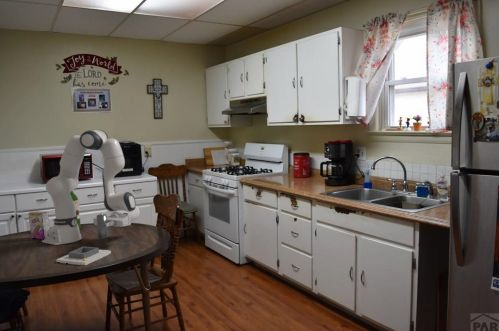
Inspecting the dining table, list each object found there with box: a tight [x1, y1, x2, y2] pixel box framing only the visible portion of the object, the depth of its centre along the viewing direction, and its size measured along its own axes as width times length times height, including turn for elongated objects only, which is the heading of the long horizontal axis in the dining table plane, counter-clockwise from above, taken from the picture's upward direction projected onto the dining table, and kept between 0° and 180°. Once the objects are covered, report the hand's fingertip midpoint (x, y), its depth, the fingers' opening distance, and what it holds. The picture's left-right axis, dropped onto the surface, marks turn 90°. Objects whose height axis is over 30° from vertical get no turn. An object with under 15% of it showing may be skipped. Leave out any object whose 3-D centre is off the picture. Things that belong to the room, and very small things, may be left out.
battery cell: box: [96, 212, 109, 239], centre depth 214 cm, size 5×5×13 cm
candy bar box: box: [27, 210, 51, 240], centre depth 242 cm, size 11×5×16 cm, turn 71°
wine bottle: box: [70, 190, 82, 230], centre depth 260 cm, size 9×9×32 cm
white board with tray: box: [55, 246, 112, 266], centre depth 201 cm, size 18×18×4 cm
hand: (100, 224), depth 213 cm, fingers closed on battery cell, 5 cm apart
